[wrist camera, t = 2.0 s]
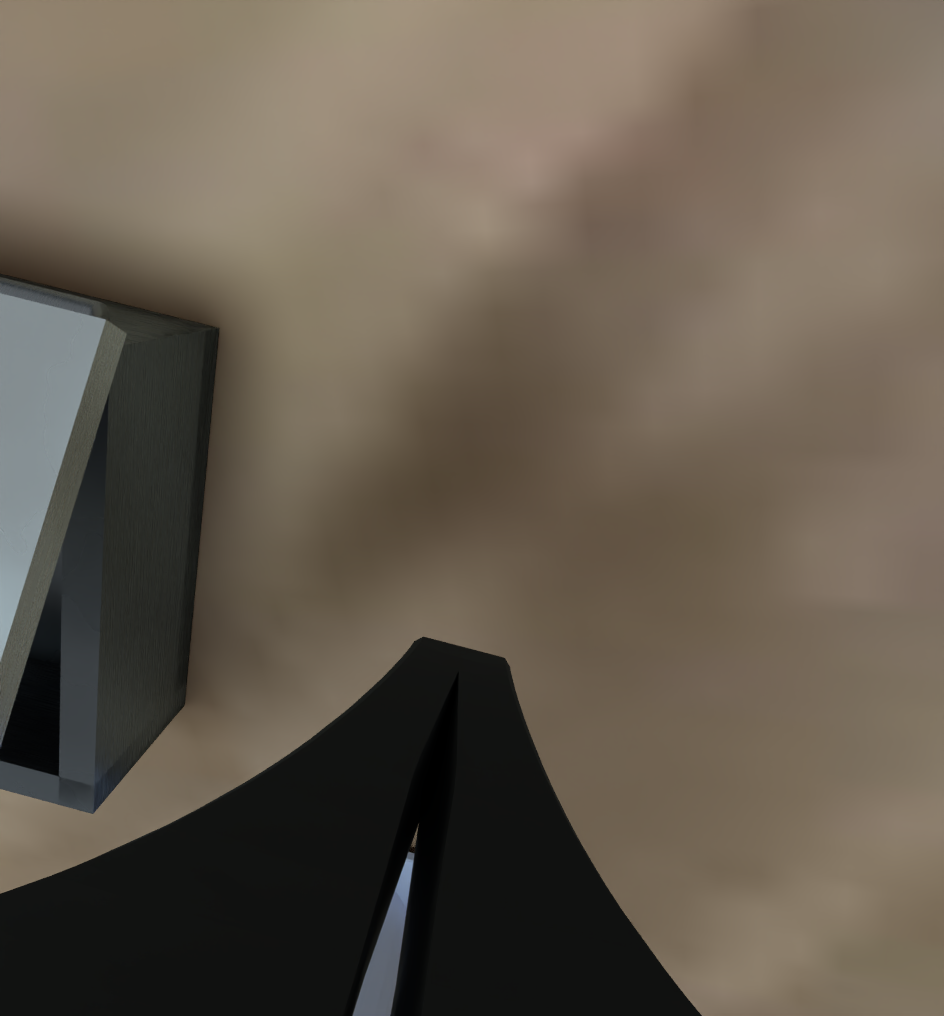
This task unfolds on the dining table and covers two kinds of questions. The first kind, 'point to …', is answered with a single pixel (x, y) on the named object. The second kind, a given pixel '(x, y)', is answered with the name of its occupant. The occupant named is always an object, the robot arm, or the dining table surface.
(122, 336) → the steel lid
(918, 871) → the dining table surface
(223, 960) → the robot arm
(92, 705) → the grey square box
